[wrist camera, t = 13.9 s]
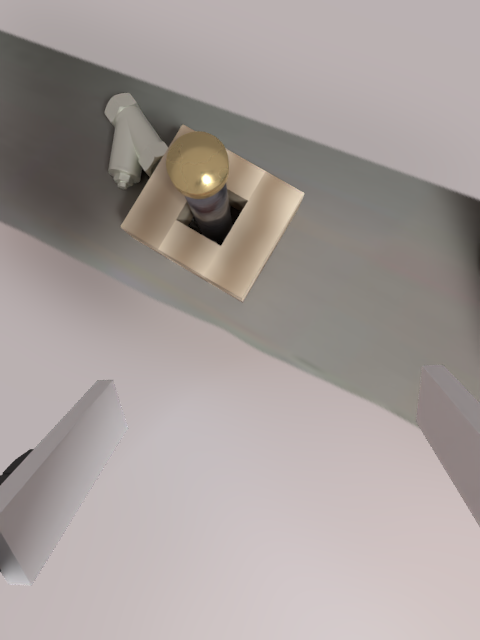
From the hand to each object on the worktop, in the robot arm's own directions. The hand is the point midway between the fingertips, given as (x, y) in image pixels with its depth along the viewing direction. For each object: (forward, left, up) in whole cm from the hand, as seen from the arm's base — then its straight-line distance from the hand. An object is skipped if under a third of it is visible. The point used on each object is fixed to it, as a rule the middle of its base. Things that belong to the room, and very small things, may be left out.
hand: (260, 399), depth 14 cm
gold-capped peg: (+11, -11, -21) cm, 26 cm away
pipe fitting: (+23, -13, -21) cm, 34 cm away
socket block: (+11, -11, -21) cm, 26 cm away
